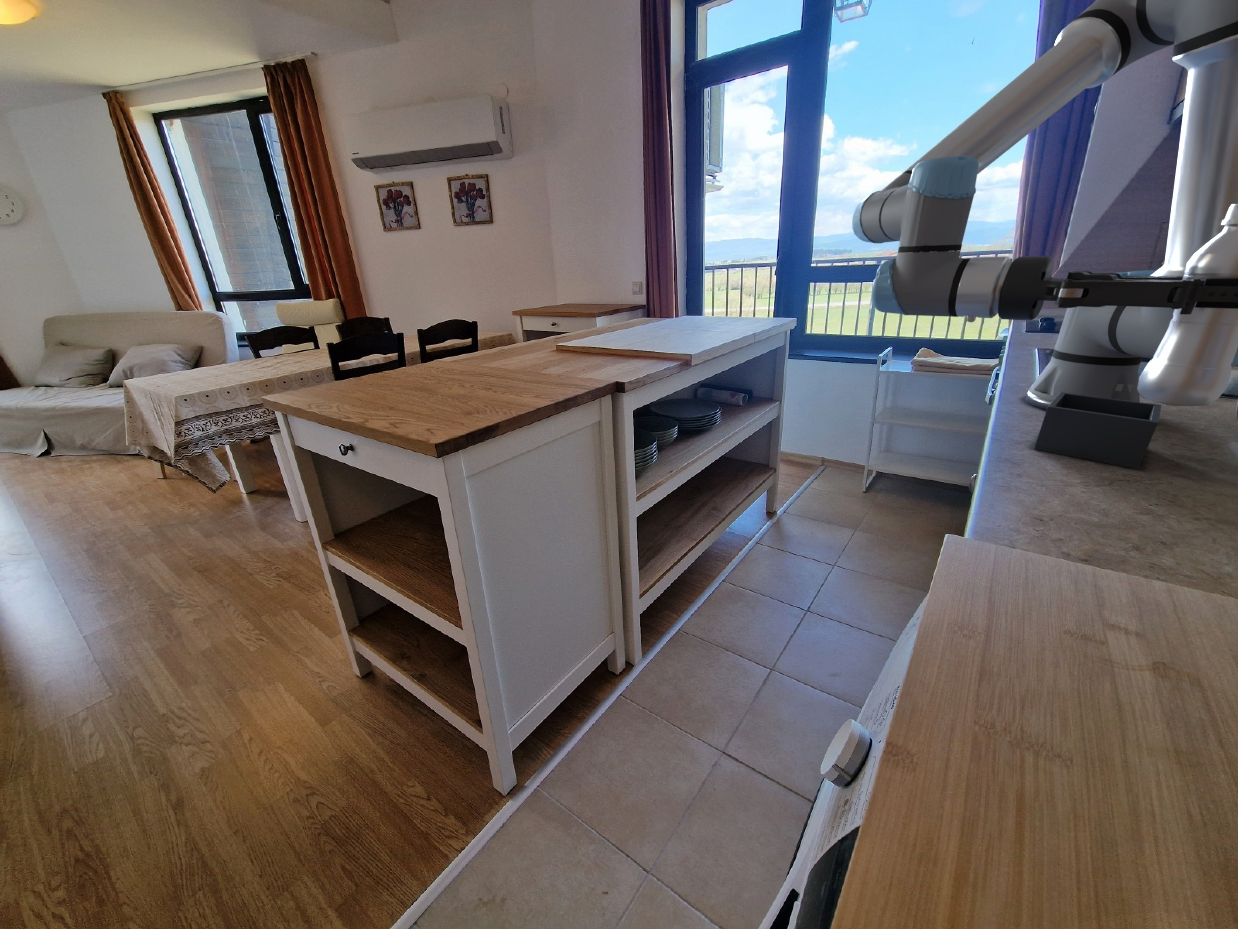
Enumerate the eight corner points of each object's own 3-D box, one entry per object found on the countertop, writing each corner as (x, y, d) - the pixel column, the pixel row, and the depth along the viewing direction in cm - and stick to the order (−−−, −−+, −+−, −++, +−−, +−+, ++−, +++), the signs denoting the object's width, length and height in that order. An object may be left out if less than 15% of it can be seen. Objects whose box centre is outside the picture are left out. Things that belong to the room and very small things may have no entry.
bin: (1047, 431, 78) (1060, 391, 75) (1143, 447, 70) (1161, 404, 68) (1033, 449, 71) (1047, 406, 69) (1138, 469, 64) (1158, 422, 61)
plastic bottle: (1114, 397, 57) (1187, 207, 49) (1171, 395, 57) (1253, 204, 49) (1172, 414, 51) (1265, 200, 43) (1236, 411, 51) (1341, 197, 43)
